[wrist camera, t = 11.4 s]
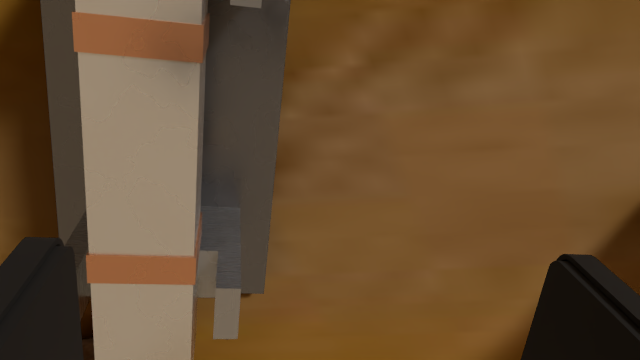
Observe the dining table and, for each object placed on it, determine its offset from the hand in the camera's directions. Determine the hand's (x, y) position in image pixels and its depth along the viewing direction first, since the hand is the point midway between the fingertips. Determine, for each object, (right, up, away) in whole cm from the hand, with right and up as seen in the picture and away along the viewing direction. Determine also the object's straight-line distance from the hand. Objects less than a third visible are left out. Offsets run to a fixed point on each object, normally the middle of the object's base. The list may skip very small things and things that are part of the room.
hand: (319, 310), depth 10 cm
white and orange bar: (-8, +5, +15) cm, 18 cm away
